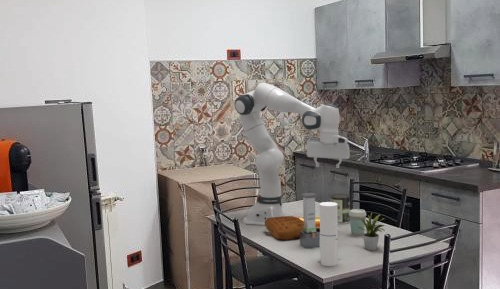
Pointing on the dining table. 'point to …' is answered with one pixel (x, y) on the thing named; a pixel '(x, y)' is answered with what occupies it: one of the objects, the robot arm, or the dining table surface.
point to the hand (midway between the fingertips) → (327, 167)
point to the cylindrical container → (328, 234)
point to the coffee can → (342, 207)
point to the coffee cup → (357, 222)
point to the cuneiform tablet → (284, 227)
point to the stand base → (309, 240)
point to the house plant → (371, 233)
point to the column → (309, 212)
